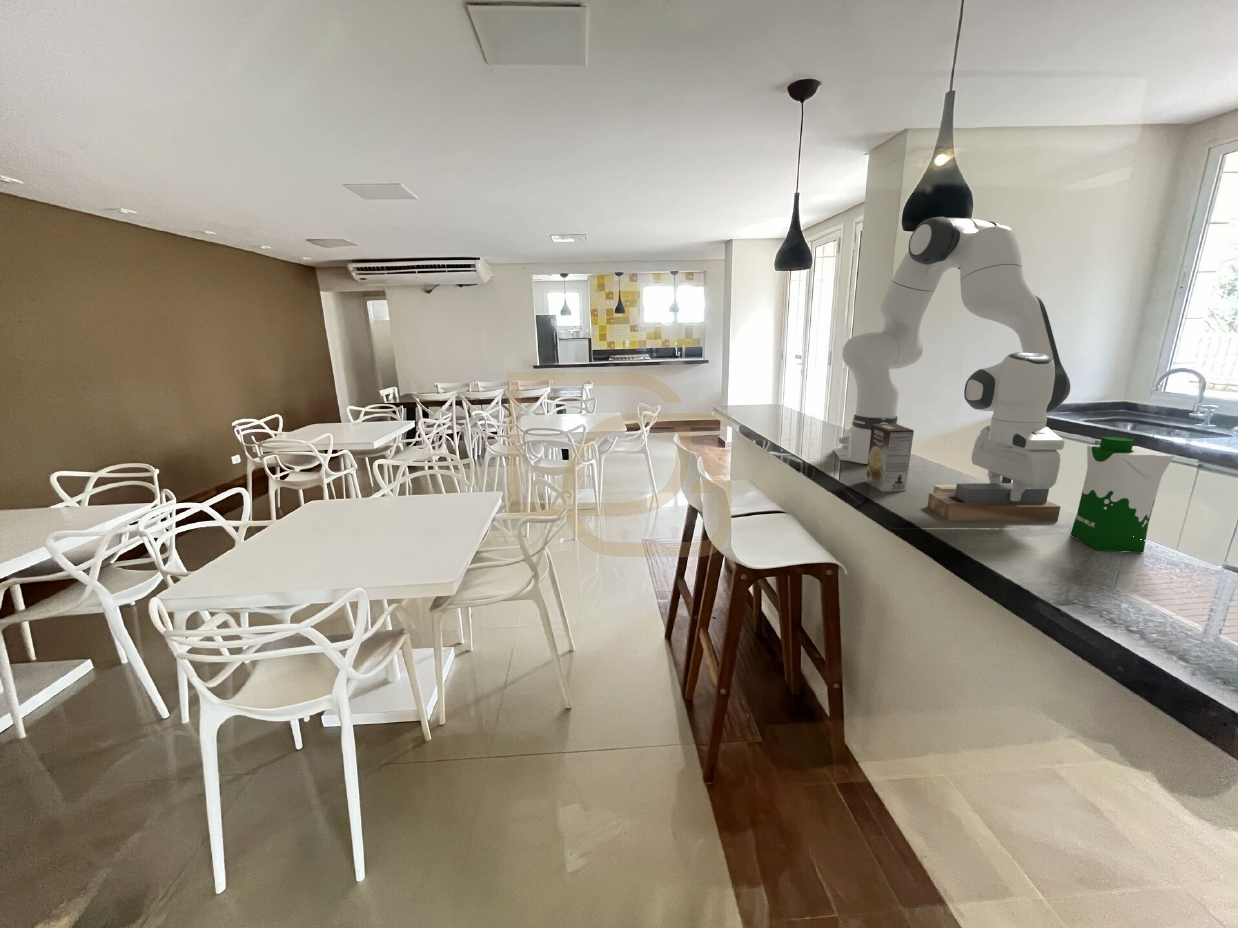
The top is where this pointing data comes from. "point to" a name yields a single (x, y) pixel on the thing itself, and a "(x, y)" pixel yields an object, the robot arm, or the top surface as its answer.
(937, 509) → the keyhole board
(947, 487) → the block
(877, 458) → the coffee box
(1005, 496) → the grey bar
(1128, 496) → the milk carton
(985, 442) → the robot arm
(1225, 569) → the top surface
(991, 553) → the top surface
